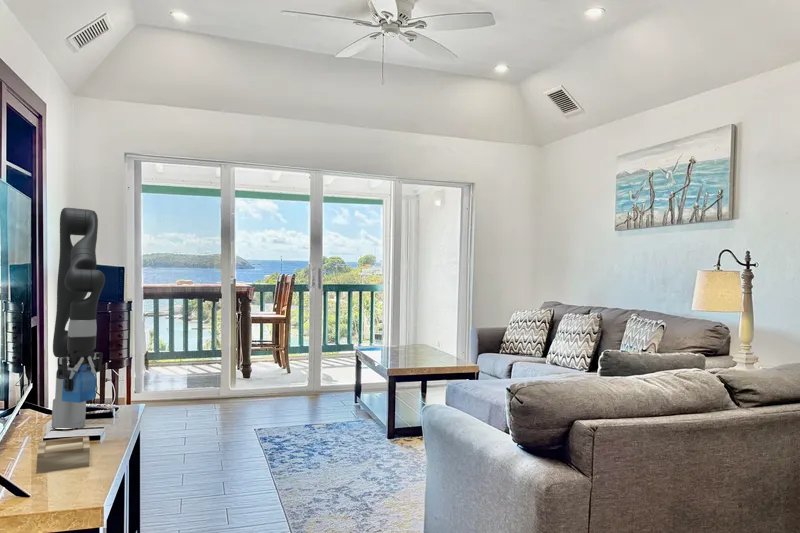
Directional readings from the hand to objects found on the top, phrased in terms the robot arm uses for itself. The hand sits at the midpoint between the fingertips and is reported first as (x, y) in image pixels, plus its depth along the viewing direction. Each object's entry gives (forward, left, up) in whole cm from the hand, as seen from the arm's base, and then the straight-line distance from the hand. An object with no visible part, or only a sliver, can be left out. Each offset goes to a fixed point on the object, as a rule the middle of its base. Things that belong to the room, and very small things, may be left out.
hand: (79, 388), depth 160 cm
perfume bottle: (0, 0, -3) cm, 3 cm away
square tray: (+8, -11, -18) cm, 22 cm away
